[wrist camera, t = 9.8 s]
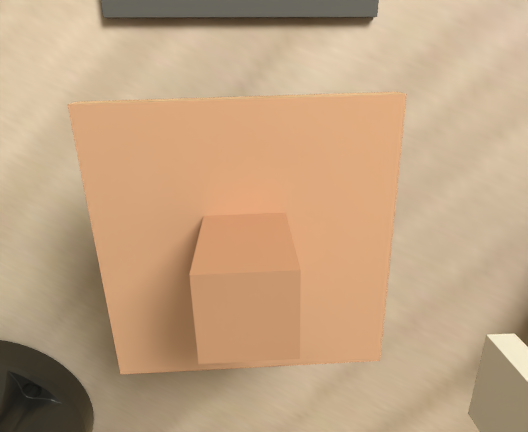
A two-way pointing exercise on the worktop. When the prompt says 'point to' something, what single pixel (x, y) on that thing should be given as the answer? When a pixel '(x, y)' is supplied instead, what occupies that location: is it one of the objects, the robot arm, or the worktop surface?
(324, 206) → the lid
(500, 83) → the worktop surface
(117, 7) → the mat
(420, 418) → the worktop surface
